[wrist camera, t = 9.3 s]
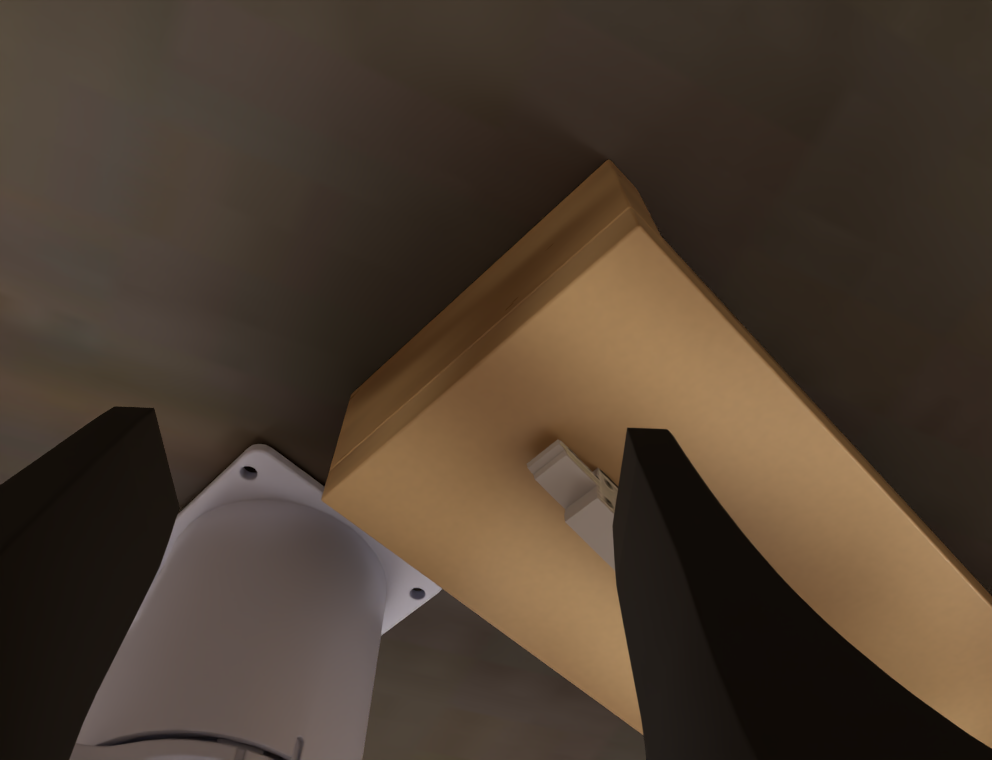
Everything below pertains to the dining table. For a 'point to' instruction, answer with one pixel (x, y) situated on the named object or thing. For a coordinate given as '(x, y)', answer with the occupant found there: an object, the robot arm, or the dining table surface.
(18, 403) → the dining table surface
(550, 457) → the caliper
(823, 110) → the dining table surface
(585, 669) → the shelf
